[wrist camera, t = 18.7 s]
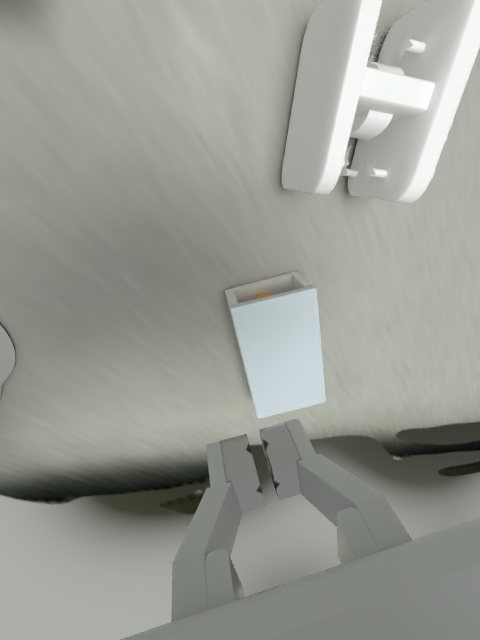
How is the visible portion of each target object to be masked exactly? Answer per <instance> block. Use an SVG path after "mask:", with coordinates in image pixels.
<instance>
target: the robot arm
mask: <svg viewBox="0 0 480 640" xmlns="http://www.w3.org/2000/svg"><path fill="white" fill-rule="evenodd" d="M14 365H15V350H14V347H13V344H12V341H11V339H10V338H9V336H8V334H7V333H6V331H5V330H4V329H3V327H2V326H1V325H0V398H1V389H2V385H3V383H4V382H5V381H6V379H7V378H8V377H9V376H10V374H11V372H12V370H13V368H14ZM259 431H260V436H261V440H262V443H263V444H262V445H263V449H264V453H265V458H266V460H267V464H268V467H269V471H271V476H272V479H273V484H274V487H275V490H276V493H277V496H278V500H281V499H285V498H288V497H292V496H295V495H299V494H302V495H303V496H304V497H305V498H306V499H307V500H308V501H309V502H310V503H311V504H313V506H315V507H316V508H317V509H318V510H319V511H320V512H321V513H322V514H323V515H324V516H325V517H326V518H328V519H329V520H330V521H331V522H332V523H333V524H334V525H335V526H336V527H337V540H338V557H339V559H340V562H341V565H338V566H336V567H333V568H330V569H327V570H324V571H321V572H318V573H315V574H312V575H309V576H306V577H303V578H300V579H297V580H294V581H291V582H288V583H285V584H283V585H279V586H277V587H274V588H271V589H268V590H265V591H262V592H259V593H256V594H253V595H250V596H247V597H244V591H243V587H242V585H241V582H240V580H239V577H238V575H237V572H236V570H235V568H234V566H233V563H232V560H231V558H230V556H231V552H232V549H233V545H234V542H235V538H236V534H237V531H238V527H239V523H240V520H241V516H242V512H245V511H248V510H251V509H254V508H256V507H259V506H262V505H264V500H263V496H262V492H261V488H260V484H259V480H258V476H257V472H256V468H255V464H254V460H253V457H252V453H251V449H250V445H249V441H248V438H247V434H245V435H241V436H237V437H233V438H229V439H226V440H222V441H218V442H215V443H211V444H208V445H207V458H208V468H209V477H210V487H211V488H208V489H206V491H205V493H204V496H203V498H202V500H201V502H200V504H199V506H198V509H197V511H196V513H195V515H194V517H193V520H192V522H191V524H190V526H189V528H188V530H187V533H186V535H185V537H184V539H183V541H182V544H181V546H180V548H179V550H178V552H177V554H176V557H175V559H174V561H173V569H172V570H173V571H172V572H173V573H172V622H170V623H167V624H165V625H162V626H159V627H156V628H153V629H150V630H147V631H144V632H141V633H138V634H135V635H132V636H129V637H127V638H124V639H120V640H480V518H477V519H474V520H471V521H468V522H466V523H463V524H460V525H456V526H454V527H451V528H448V529H445V530H442V531H439V532H436V533H433V534H430V535H427V536H424V537H421V538H418V539H415V540H412V539H411V537H410V536H409V534H408V533H407V531H406V529H405V528H404V526H403V525H402V523H401V522H400V520H399V518H398V517H397V515H396V514H395V512H394V511H393V509H392V507H391V506H390V504H389V503H388V501H387V500H386V498H385V496H384V495H382V494H381V493H379V492H378V491H376V490H375V489H373V488H372V487H370V486H369V485H367V484H366V483H364V482H362V481H361V480H359V479H358V478H356V477H355V476H353V475H352V474H350V473H349V472H347V471H346V470H344V469H343V468H341V467H339V466H338V465H336V464H335V463H333V462H332V461H330V460H329V459H327V458H325V457H324V456H323V455H321V454H320V455H316V453H315V451H314V449H313V447H312V445H311V443H310V441H309V439H308V437H307V435H306V433H305V431H304V429H303V427H302V425H301V423H300V420H298V419H294V420H291V421H287V422H285V423H284V422H283V423H280V424H276V425H273V426H270V427H267V428H263V429H260V430H259Z"/></svg>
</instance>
